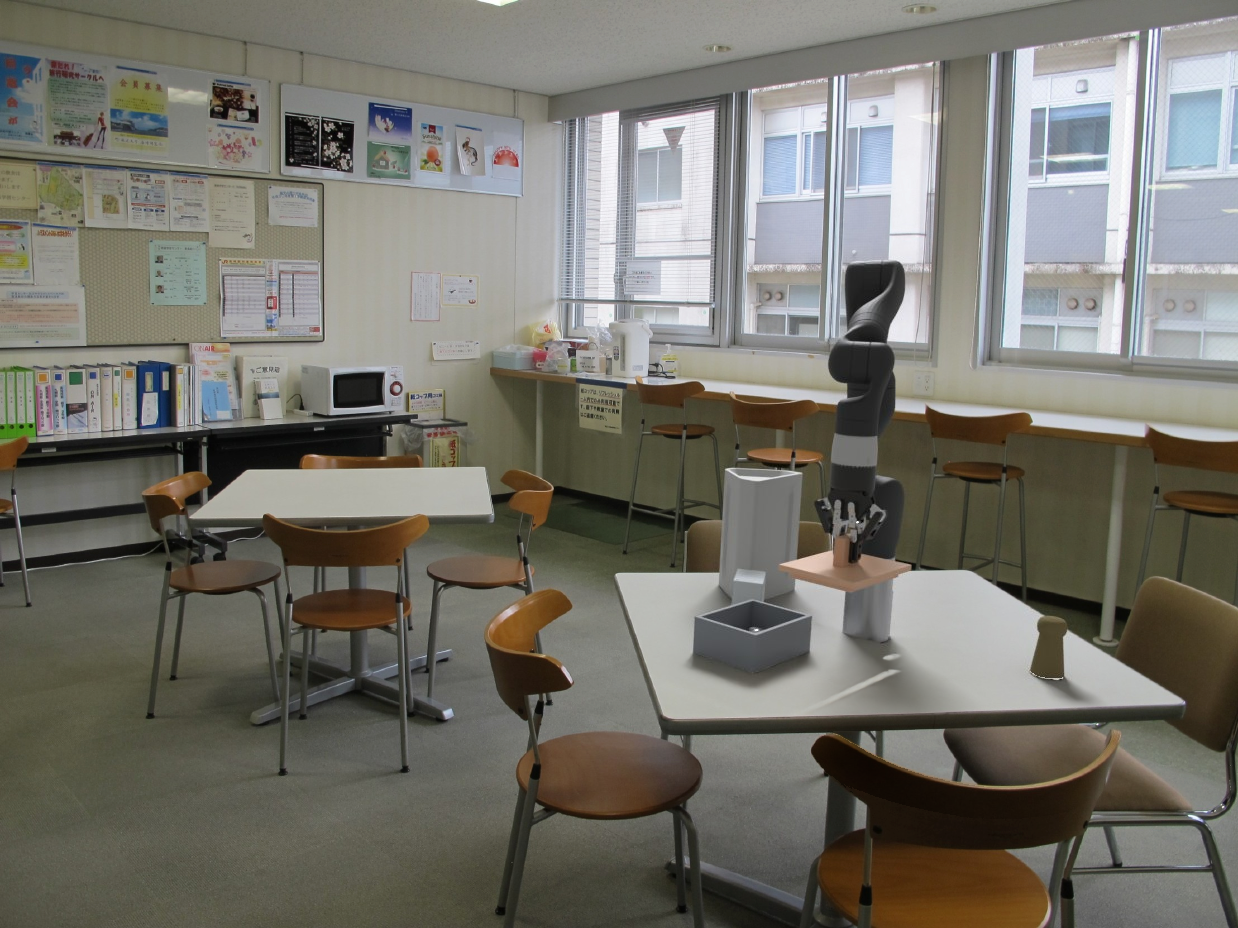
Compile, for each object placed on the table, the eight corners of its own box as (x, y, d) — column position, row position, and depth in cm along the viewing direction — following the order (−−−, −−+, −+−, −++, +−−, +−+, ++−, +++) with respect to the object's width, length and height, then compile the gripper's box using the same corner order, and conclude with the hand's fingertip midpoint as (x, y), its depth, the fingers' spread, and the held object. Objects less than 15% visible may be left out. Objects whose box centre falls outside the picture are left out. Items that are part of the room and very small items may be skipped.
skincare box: (760, 632, 204) (763, 583, 202) (728, 629, 205) (731, 580, 204) (763, 617, 214) (766, 570, 212) (733, 615, 215) (736, 567, 214)
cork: (1061, 682, 182) (1068, 624, 180) (1026, 675, 185) (1032, 618, 183) (1066, 673, 187) (1073, 616, 185) (1032, 666, 190) (1038, 610, 188)
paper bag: (744, 576, 247) (751, 464, 243) (796, 589, 237) (803, 473, 233) (697, 590, 233) (703, 472, 228) (749, 605, 223) (757, 481, 219)
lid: (837, 560, 183) (840, 521, 182) (910, 577, 173) (913, 536, 172) (778, 577, 170) (780, 535, 168) (853, 596, 160) (857, 552, 158)
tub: (749, 637, 201) (752, 598, 199) (809, 655, 191) (812, 615, 190) (692, 657, 188) (694, 616, 186) (753, 678, 178) (755, 635, 177)
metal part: (754, 640, 196) (754, 626, 195) (766, 644, 193) (767, 629, 193) (744, 644, 193) (745, 629, 193) (757, 648, 191) (758, 633, 191)
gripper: (902, 464, 166) (893, 566, 169) (830, 454, 176) (823, 550, 178) (879, 468, 161) (870, 573, 163) (806, 457, 170) (799, 556, 173)
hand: (846, 560), depth 171 cm, fingers closed on lid
